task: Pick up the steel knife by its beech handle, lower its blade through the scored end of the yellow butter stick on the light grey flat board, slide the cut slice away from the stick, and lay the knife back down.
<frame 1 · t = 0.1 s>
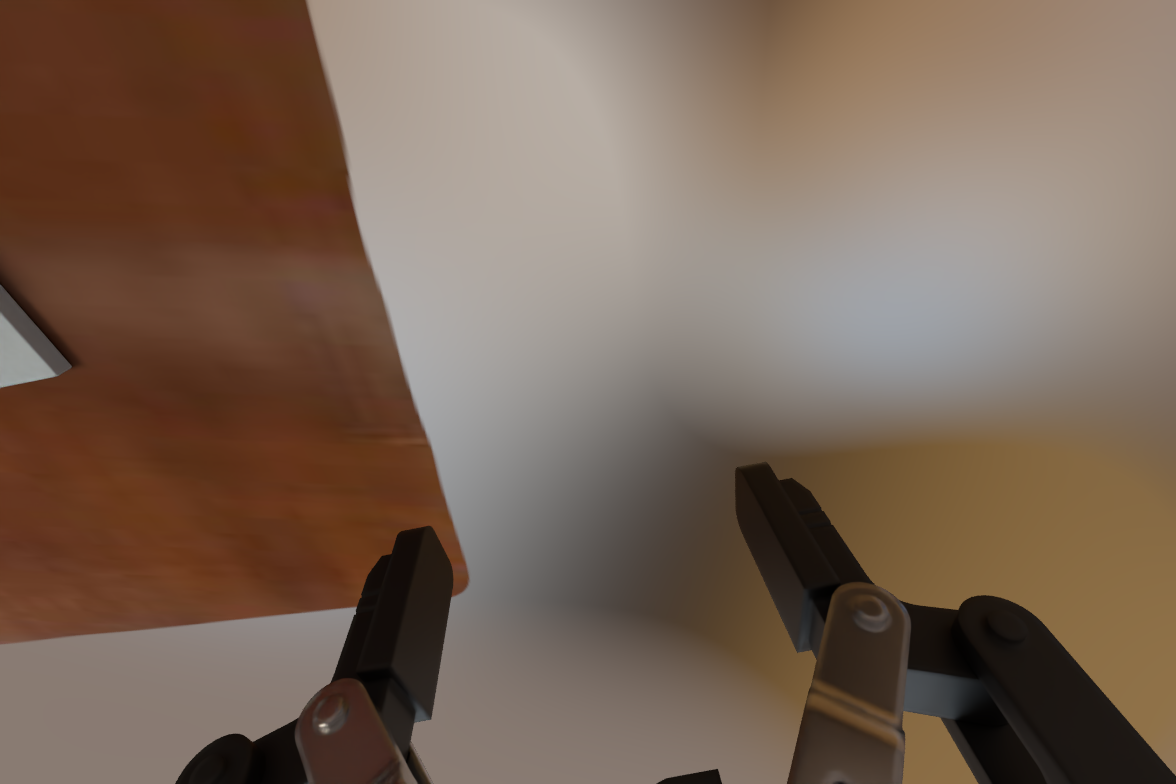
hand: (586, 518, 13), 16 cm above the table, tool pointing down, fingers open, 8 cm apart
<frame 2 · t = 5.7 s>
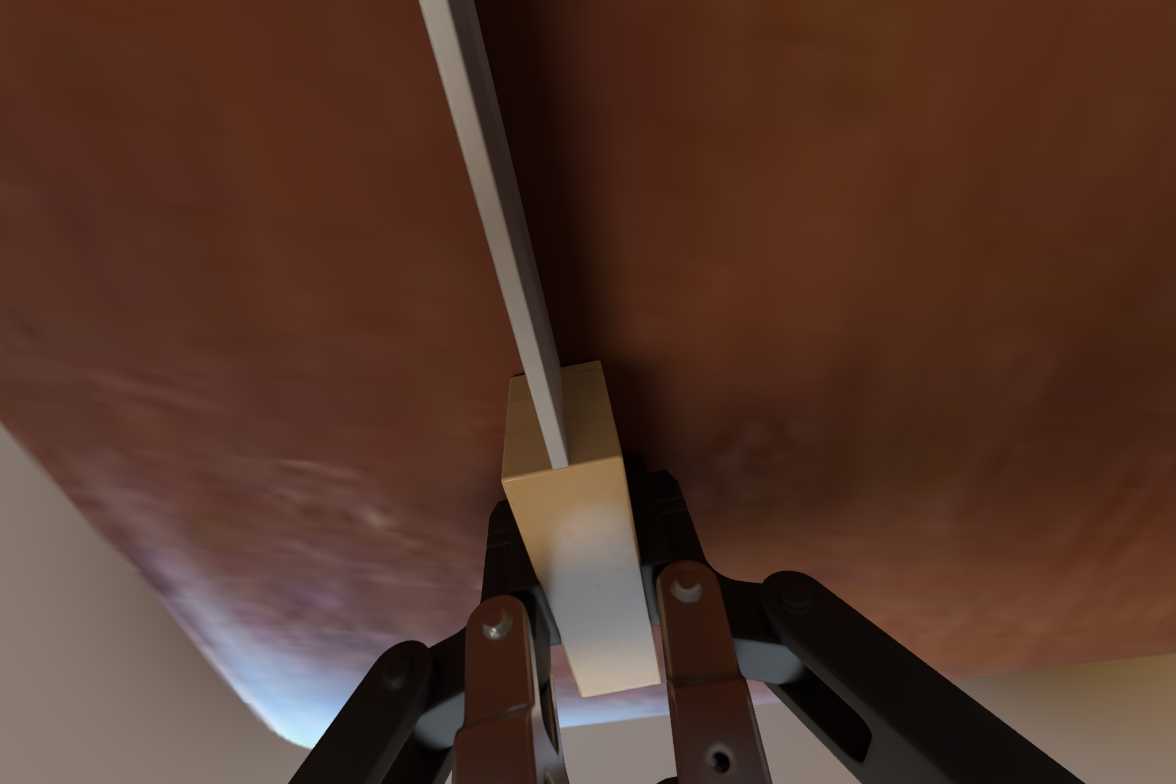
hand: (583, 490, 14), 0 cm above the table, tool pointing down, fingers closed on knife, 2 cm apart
knife: (549, 349, 11), on the table, touching gripper
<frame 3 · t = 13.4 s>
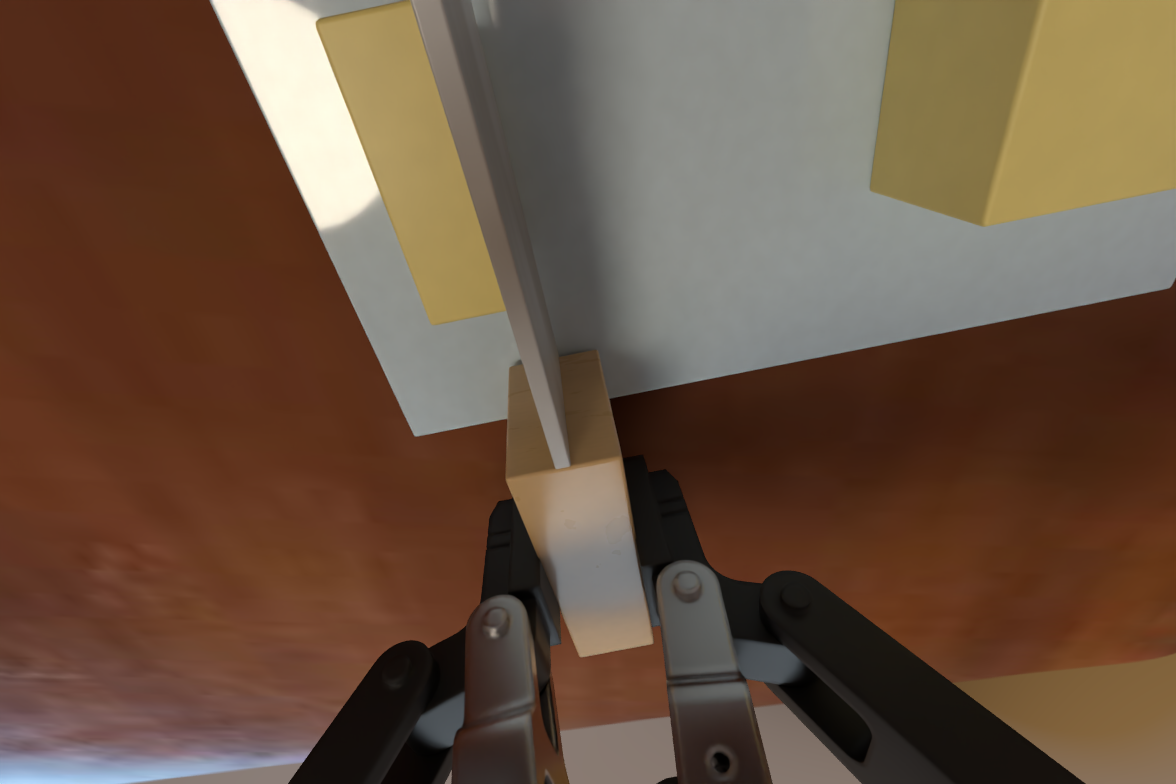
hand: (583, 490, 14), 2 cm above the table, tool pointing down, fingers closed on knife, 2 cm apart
butter slice: (459, 158, 9), point 1 cm above the table, touching light grey flat board, knife
butter stick: (1062, 47, 9), point 1 cm above the table, touching light grey flat board
knife: (548, 339, 11), point 1 cm above the table, tilted 7°, touching butter slice, gripper
light grey flat board: (782, 98, 10), on the table
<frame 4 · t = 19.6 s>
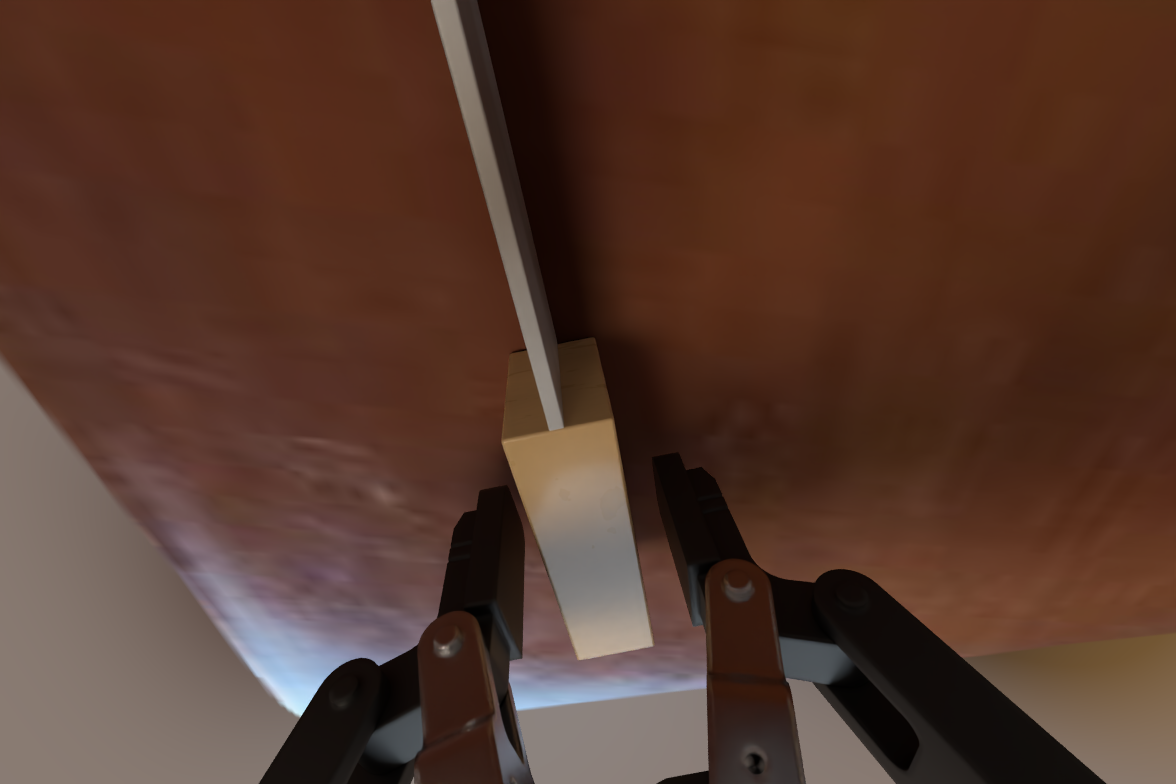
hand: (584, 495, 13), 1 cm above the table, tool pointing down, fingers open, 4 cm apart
knife: (547, 326, 12), on the table
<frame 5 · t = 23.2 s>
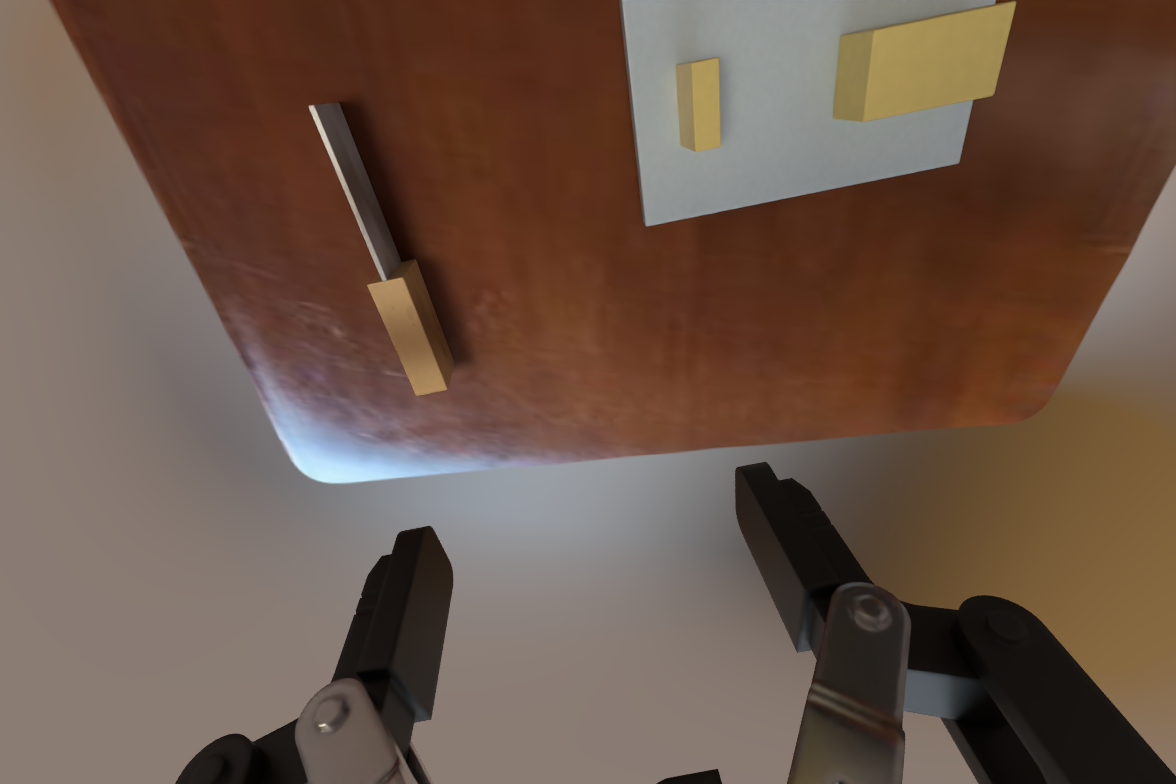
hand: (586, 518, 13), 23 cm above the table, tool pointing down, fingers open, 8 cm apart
butter slice: (689, 104, 27), point 1 cm above the table, touching light grey flat board
butter stick: (897, 66, 27), point 1 cm above the table, touching light grey flat board
knife: (396, 254, 31), on the table
light grey flat board: (800, 84, 28), on the table
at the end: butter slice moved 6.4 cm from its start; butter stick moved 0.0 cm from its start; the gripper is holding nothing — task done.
